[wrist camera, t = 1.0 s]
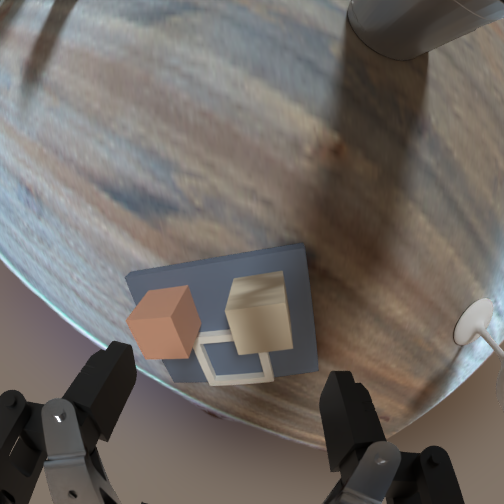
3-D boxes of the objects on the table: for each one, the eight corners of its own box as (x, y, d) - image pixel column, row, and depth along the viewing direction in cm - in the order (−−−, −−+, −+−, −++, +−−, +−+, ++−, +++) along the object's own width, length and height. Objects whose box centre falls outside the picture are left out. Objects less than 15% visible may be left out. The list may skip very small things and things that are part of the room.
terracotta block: (188, 285, 28) (170, 316, 23) (201, 323, 30) (188, 358, 25) (148, 290, 29) (125, 320, 23) (163, 326, 31) (145, 359, 25)
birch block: (282, 270, 27) (285, 302, 22) (289, 311, 29) (293, 348, 23) (233, 278, 28) (224, 310, 22) (244, 318, 29) (238, 355, 24)
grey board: (303, 242, 27) (306, 251, 25) (317, 363, 33) (319, 376, 31) (130, 272, 30) (120, 281, 28) (176, 375, 36) (172, 387, 34)
